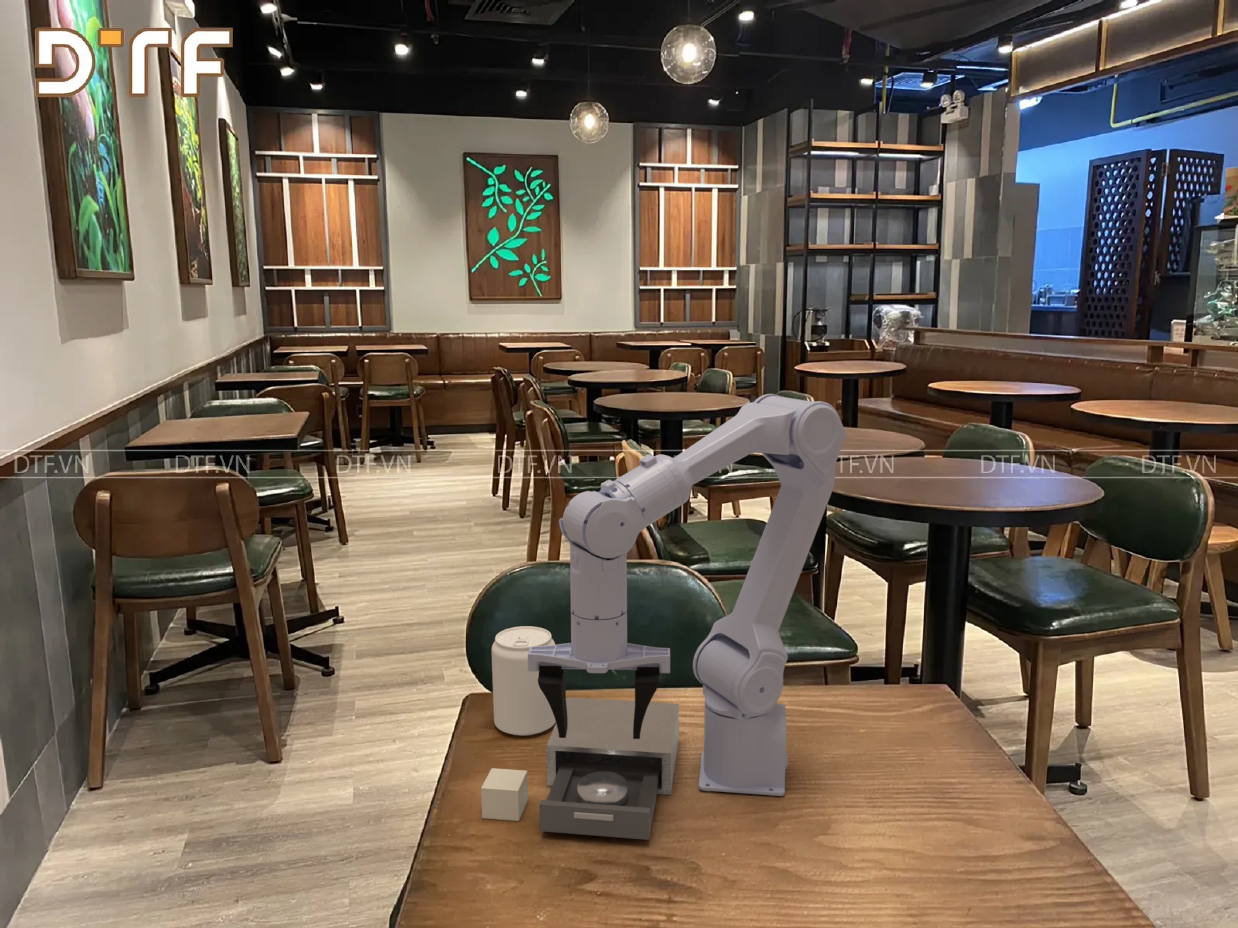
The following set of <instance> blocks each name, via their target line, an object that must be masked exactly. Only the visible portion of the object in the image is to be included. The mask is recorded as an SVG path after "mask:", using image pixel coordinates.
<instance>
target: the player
mask: <svg viewBox="0 0 1238 928" xmlns="http://www.w3.org/2000/svg"><path fill="white" fill-rule="evenodd" d="M566 706H567V717H568V729H567V734H566V738H559V733H558V728H557V724H556V723H555V724H554V728H553V729H552V730H551V731H552V732H551V734H550V736H549V739H548V741H547V743H546V746H545V747H546V783H547V784H546V786H547V787H552V785H553V782H554V780H555V777H556V775H557V772H558V770H559V767H560V765H561V762H562V761H573V762H587V763H602V764H617V765H631V766H646V767H660V780H659V785H658V791H657V795H667V796H671V795H672V791H673V790H672V789H673V784H674V783H673V782H674V776H675V775H674V774H675V769H676V763H677V757H676V756H678V749H679V743H680V737H679V736H680V703H673V702H672V703H671V702H654V701H650V703H649V705H648V708H647V710H646V713H645V716H644V719H643V723H642V727H641V732H640V739H633V724H634V711H635V700H622V699H621V700H619V699H605V698H604V699H603V698H601V699H600V698H586V697H585V698H584V697H566Z"/></svg>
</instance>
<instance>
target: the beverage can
mask: <svg viewBox="0 0 1238 928" xmlns="http://www.w3.org/2000/svg"><path fill="white" fill-rule="evenodd" d="M550 645H556V642H555V641H554V639H553V638H552V633H551V632H550V631H549V630H547V629H546V628H542V627H540V626H539V627H538V626H527V625H526V626H522V625H521V626H513V627H510V628H505V629H504V630H501V631H500V632H498V633H497V634H496V635H495V638H494V642H493V643H492V646H491V667H492V668H491V671H492V674H491V675H492V699H493V700H492V701H493V721H494V725H495V727H496V728H497V729H498V730H500V731H501V732H504V733H506V734H510V735H514V736H525V737H526V736H533V735H537V734H540V733H543V732H545V731H547V730H548V729H550V728H552V727H553V726H555V725H556V721H555V717H554V714H553V712H552V709H551V707H550V705H549V703H548V701H547V699H546V697H545V695H544V694H543V692H542V691H541V689H540V687H539V684H538V677H539V671H528V652H529V649H530V647H537V646H550Z"/></svg>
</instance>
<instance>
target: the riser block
mask: <svg viewBox="0 0 1238 928" xmlns="http://www.w3.org/2000/svg"><path fill="white" fill-rule="evenodd" d="M528 788H529V787H528V770H523V769H508V768H496V767H495V768H494V767H492V768H490V770H489V772H488V775H487V776H486V778H485V780H484V782H483V784H482V785H481V788H480V795H481V818H482V819H485V820H486V819H489V820H499V821H500V820H501V821H512V822H513V821H515V822H520V819H521V817H522V815H523V813H524V811H525V808H526V805H527V804H528V801H529V790H528Z"/></svg>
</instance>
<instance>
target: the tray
mask: <svg viewBox="0 0 1238 928" xmlns="http://www.w3.org/2000/svg"><path fill="white" fill-rule="evenodd" d="M601 771H606V772H613V773H616V774H619V775H621V776H622V777H624V778H625V779H626V781H627V783H628V801H627V803H626V804H625V805H624V806H615V805H601V804H588V803H578V800H577V784H578V781H579V780H580V779H581V778H582V777H583V776H585V775H587V774H590V773H593V772H601ZM659 780H660V767H646V766H631V765H617V764H602V763H587V762H573V761H562V762H561V765H560V767H559V770H558V772H557V775H556V777H555V780H554V782H553V785H552V786H551V787H550V790H549V793H548V795H547V798H546V800H544V799H540V802H539V806H538V808H539V832H549V833H557V834H558V833H559V834H569V835H571V834H572V835H583V836H585V835H586V836H594V837H595V836H596V837H598V836H599V837H610V838H619V839H620V838H623V839H634V840H645V841H649V840H650V836H651V832H652V831H651V830H652V824H653V818H654V813H655V807H656V802H657V796H658V794H657V791H658V785H659Z"/></svg>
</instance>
